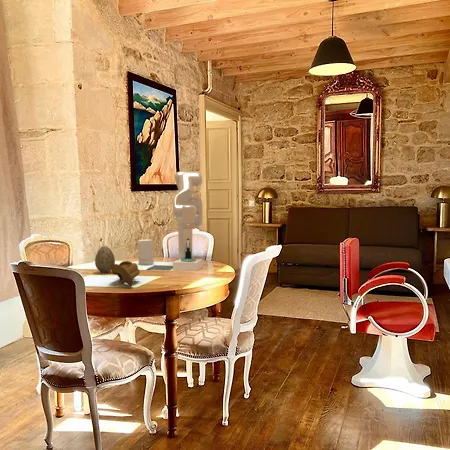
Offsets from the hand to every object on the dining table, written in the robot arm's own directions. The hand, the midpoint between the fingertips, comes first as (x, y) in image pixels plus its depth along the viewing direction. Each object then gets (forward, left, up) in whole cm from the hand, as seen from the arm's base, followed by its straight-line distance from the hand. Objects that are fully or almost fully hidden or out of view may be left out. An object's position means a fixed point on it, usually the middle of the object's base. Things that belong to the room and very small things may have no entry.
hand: (188, 257), depth 253 cm
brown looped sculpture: (+44, -20, -7) cm, 49 cm away
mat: (0, -16, -7) cm, 18 cm away
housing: (0, 0, -7) cm, 7 cm away
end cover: (0, 0, -7) cm, 7 cm away
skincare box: (-13, -31, -7) cm, 35 cm away
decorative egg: (+19, -43, -7) cm, 48 cm away
